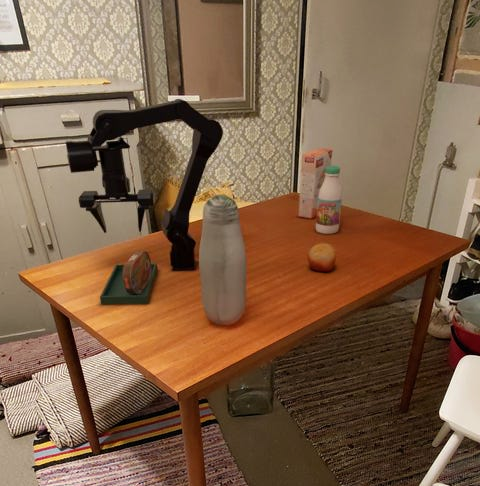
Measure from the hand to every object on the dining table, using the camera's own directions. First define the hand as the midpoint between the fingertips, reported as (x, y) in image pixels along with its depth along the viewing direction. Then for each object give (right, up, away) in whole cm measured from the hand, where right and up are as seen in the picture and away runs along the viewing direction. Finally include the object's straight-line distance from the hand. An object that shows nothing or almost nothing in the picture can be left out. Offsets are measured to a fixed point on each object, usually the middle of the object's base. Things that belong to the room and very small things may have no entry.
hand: (122, 232), depth 131 cm
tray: (+2, -14, 0) cm, 15 cm away
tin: (+5, -15, -1) cm, 16 cm away
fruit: (+54, -8, +9) cm, 55 cm away
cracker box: (+58, +24, +51) cm, 81 cm away
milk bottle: (+61, +12, +35) cm, 71 cm away
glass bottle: (+28, -26, -16) cm, 41 cm away
